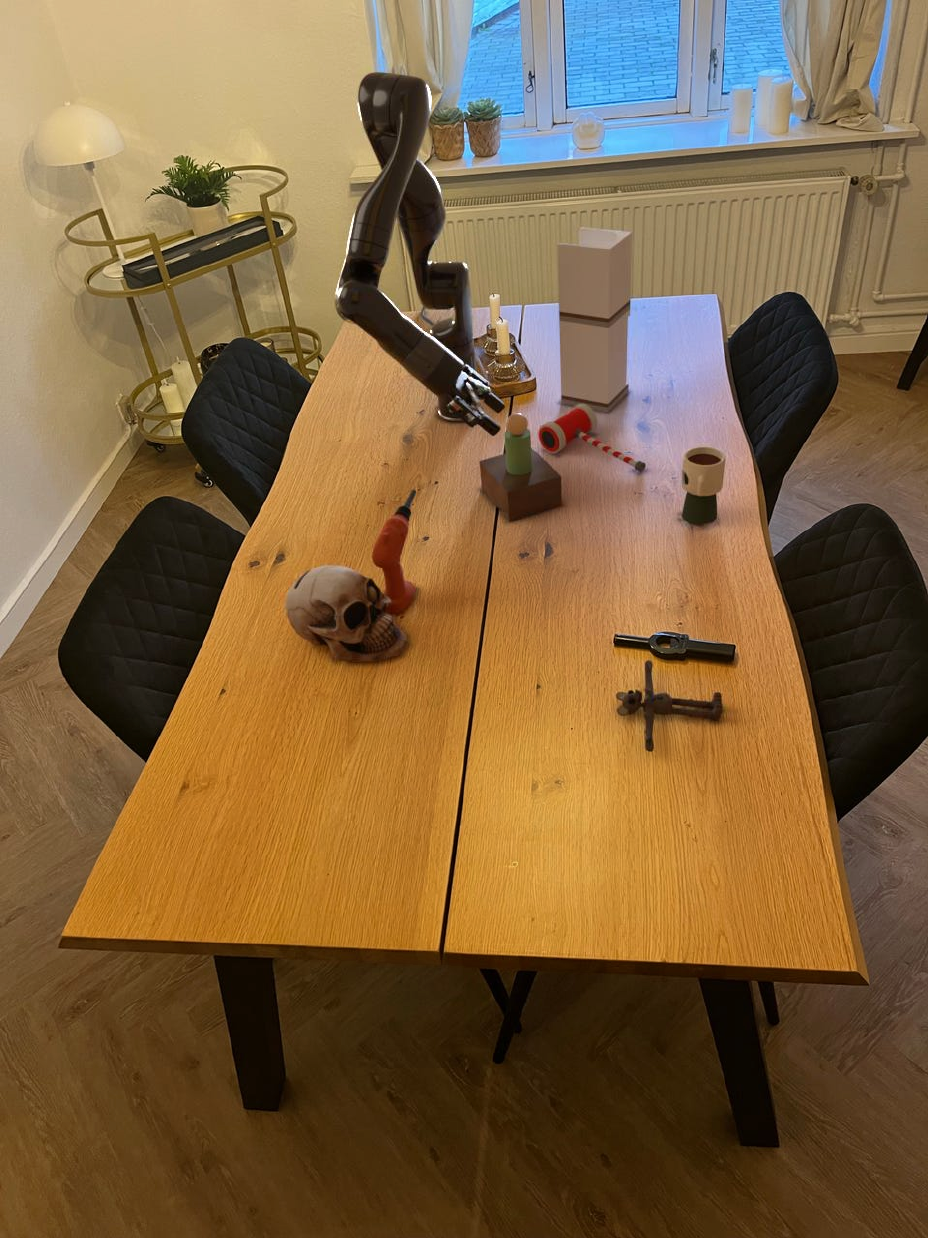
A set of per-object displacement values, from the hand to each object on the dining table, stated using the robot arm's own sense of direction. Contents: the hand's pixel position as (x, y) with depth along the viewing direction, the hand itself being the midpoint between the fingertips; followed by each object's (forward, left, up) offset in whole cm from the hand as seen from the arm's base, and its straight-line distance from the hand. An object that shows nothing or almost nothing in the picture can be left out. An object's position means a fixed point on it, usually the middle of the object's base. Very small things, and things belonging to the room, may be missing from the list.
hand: (500, 420), depth 169 cm
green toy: (+2, +3, -10) cm, 11 cm away
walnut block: (+2, +3, -17) cm, 17 cm away
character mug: (+25, +28, -17) cm, 41 cm away
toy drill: (+17, -26, -17) cm, 35 cm away
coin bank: (+26, -39, -17) cm, 50 cm away
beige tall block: (-27, +35, -17) cm, 47 cm away
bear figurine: (+64, -3, -17) cm, 66 cm away
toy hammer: (-7, +23, -17) cm, 29 cm away
